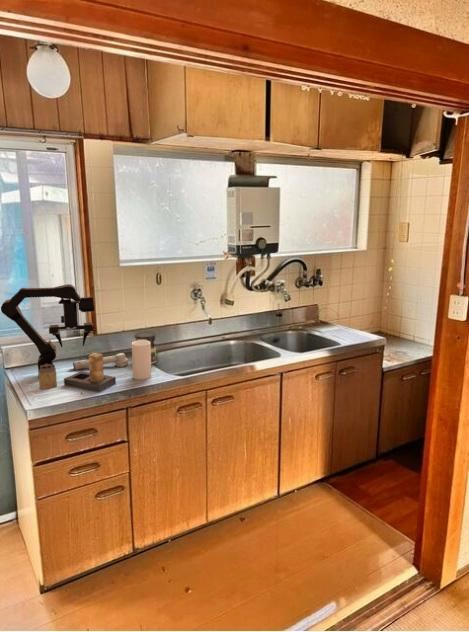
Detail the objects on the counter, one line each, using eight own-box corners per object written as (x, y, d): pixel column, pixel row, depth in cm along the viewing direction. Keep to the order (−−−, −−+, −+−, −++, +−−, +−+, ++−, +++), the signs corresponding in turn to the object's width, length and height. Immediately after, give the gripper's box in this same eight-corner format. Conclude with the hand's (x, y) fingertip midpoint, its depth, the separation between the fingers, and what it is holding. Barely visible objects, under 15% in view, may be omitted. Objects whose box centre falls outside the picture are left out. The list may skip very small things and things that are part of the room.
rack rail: (64, 385, 198) (63, 378, 198) (81, 377, 208) (81, 371, 208) (99, 392, 192) (99, 385, 191) (115, 383, 202) (115, 377, 201)
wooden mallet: (72, 360, 220) (125, 349, 227) (75, 373, 222) (128, 362, 229) (72, 363, 215) (126, 352, 222) (75, 377, 217) (129, 365, 224)
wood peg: (90, 386, 198) (88, 355, 195) (96, 383, 201) (94, 352, 198) (98, 388, 196) (96, 356, 193) (104, 385, 200) (102, 354, 197)
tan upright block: (56, 384, 200) (54, 362, 197) (58, 387, 196) (56, 364, 194) (38, 387, 196) (36, 364, 194) (40, 390, 193) (38, 367, 191)
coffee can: (154, 357, 238) (154, 331, 235) (157, 363, 228) (156, 336, 225) (134, 359, 235) (133, 332, 232) (136, 365, 225) (135, 337, 222)
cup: (132, 379, 206) (131, 345, 203) (133, 373, 214) (132, 340, 211) (151, 379, 207) (150, 344, 204) (151, 373, 215) (150, 339, 212)
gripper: (91, 308, 217) (93, 340, 221) (48, 310, 211) (51, 343, 215) (92, 313, 207) (94, 346, 211) (47, 315, 201) (50, 350, 204)
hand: (72, 346), depth 210 cm, fingers open, 9 cm apart
